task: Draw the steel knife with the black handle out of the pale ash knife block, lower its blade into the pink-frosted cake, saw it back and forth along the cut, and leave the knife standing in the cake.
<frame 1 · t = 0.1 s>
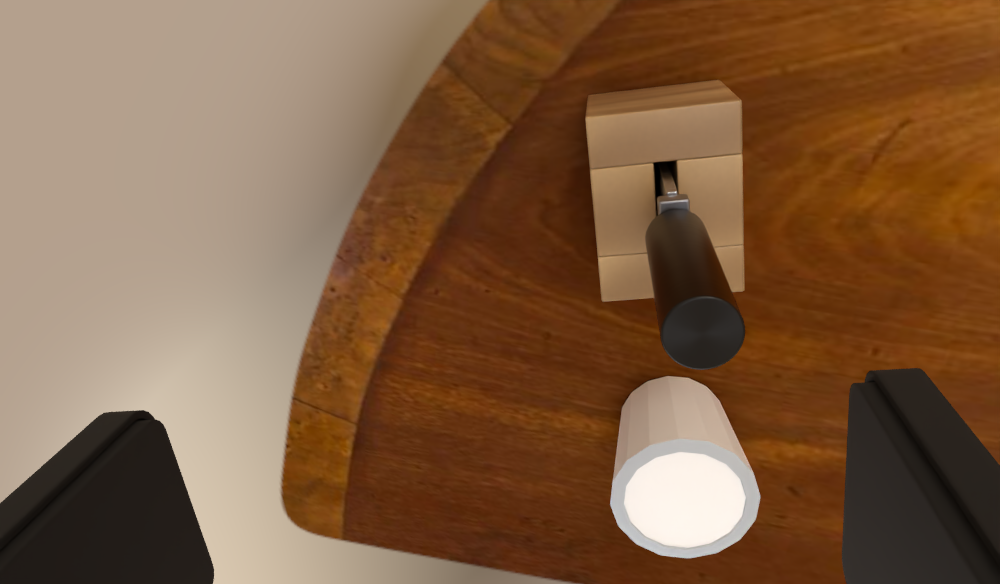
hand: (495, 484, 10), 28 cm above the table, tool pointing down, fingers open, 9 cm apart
white cylinder: (671, 418, 42), on the table
knife block: (657, 171, 36), on the table
knife: (673, 229, 28), in the knife block
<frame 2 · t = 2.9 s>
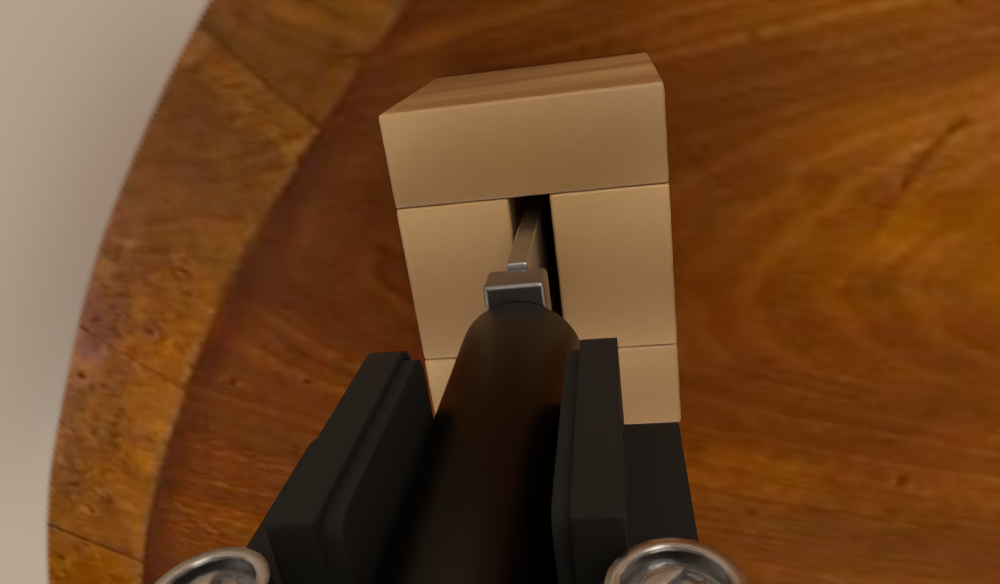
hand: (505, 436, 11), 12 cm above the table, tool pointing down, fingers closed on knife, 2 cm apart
knife block: (553, 203, 23), on the table
knife: (526, 334, 14), in the knife block, touching gripper
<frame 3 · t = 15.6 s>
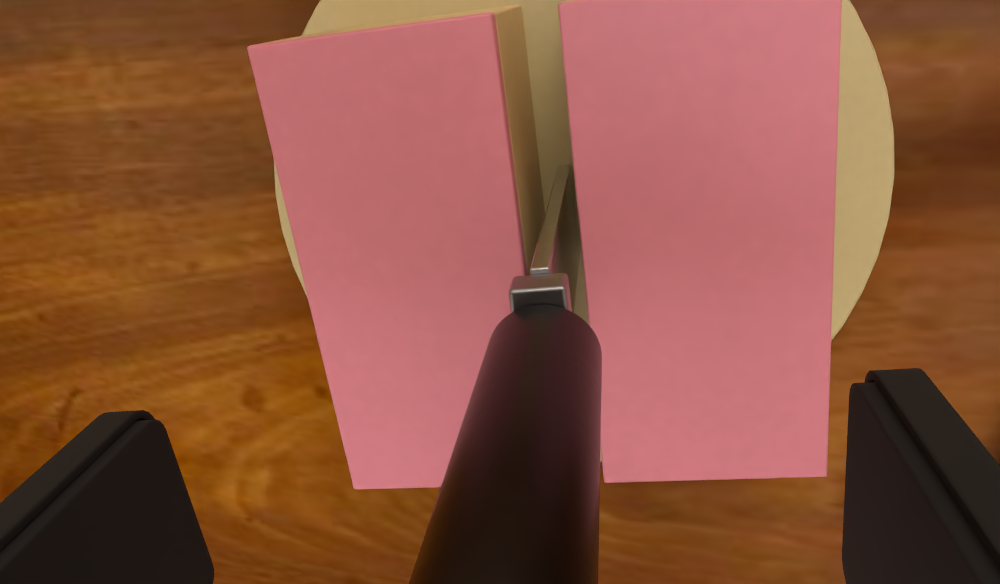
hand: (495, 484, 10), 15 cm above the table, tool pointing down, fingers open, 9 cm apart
cake: (568, 200, 24), on the table
knife: (548, 335, 15), point 10 cm above the table, touching cake
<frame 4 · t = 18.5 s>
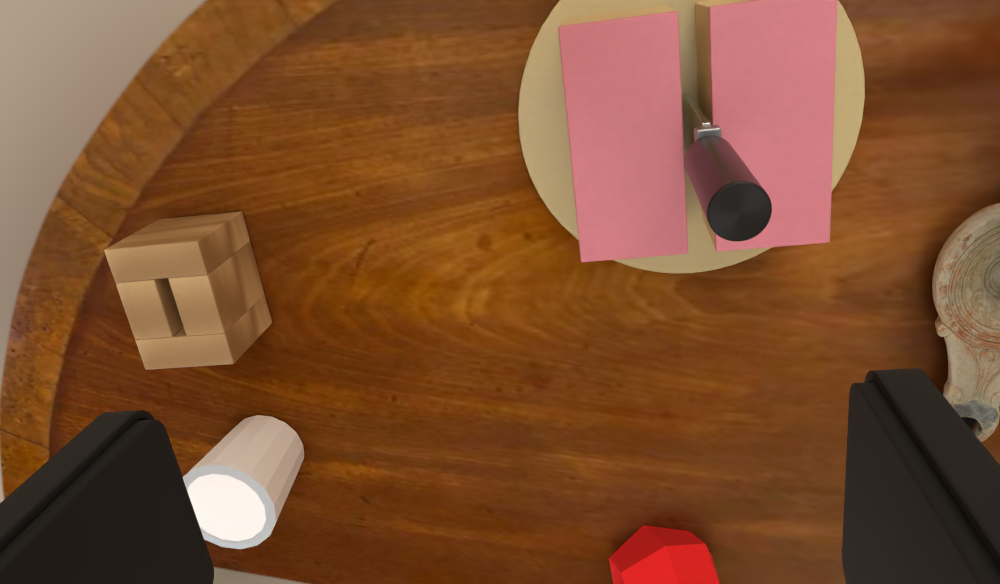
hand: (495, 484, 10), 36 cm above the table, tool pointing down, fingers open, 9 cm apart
white cylinder: (268, 446, 56), on the table
apple: (659, 545, 55), on the table
knife block: (216, 272, 51), on the table
cake: (684, 114, 43), on the table
oil lamp: (986, 269, 45), on the table
knife: (707, 155, 35), point 10 cm above the table, touching cake
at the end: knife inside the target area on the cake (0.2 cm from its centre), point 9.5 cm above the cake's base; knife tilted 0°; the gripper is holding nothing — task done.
